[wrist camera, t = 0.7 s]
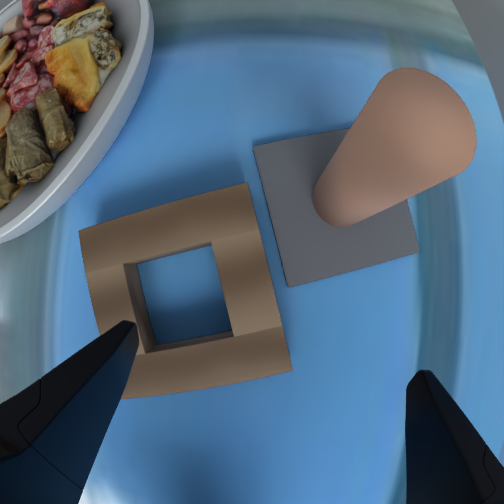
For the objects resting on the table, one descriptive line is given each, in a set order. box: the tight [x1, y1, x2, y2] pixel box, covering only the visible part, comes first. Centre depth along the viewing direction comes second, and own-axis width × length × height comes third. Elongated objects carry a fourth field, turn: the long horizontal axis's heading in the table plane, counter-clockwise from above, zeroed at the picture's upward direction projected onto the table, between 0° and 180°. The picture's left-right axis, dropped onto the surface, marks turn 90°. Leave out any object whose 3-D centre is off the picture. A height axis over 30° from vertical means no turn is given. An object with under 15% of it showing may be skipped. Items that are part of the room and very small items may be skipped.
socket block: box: [78, 182, 293, 399], centre depth 21 cm, size 12×12×2 cm
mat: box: [253, 128, 420, 288], centre depth 22 cm, size 10×10×1 cm
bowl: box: [0, 0, 154, 244], centre depth 20 cm, size 30×30×8 cm
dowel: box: [312, 68, 477, 227], centre depth 15 cm, size 4×4×13 cm
